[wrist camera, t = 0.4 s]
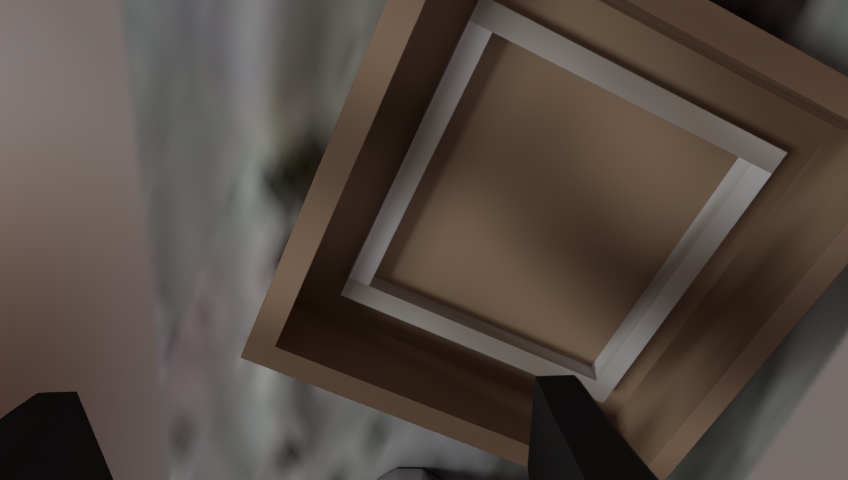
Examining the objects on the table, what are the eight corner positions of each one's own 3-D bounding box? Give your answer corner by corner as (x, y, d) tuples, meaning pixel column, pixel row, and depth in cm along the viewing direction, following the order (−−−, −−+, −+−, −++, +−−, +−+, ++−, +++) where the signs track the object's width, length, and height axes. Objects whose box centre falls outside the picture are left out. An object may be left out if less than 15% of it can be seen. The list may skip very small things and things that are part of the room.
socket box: (610, 436, 23) (639, 510, 20) (270, 299, 21) (240, 357, 17) (861, 109, 18) (955, 136, 15) (443, -118, 16) (446, -145, 12)
